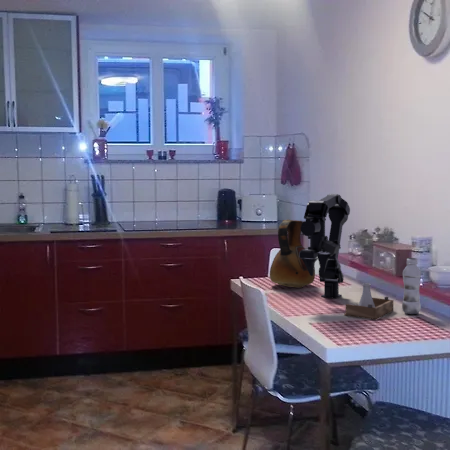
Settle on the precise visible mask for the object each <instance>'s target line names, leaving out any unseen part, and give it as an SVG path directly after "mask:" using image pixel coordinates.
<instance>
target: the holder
mask: <svg viewBox="0 0 450 450" xmlns="http://www.w3.org/2000/svg"><path fill="white" fill-rule="evenodd" d="M372 299H373V302H374V305H375V308H374V307H372V304H368V307H366V306H359V304H352V303H351V304H349V303H346V304H345V313H344V314H343V315H344V316H347V317H353V318H354V317H356V318H360V319H361V318H362V319H369V320H375V321H377V320H379V319H380V318H382V317H384V316H387V315H388V314H390V313H392V312H394V302H395V301H394V299H390V298H389V296H384V298H378V297H372Z"/></svg>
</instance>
